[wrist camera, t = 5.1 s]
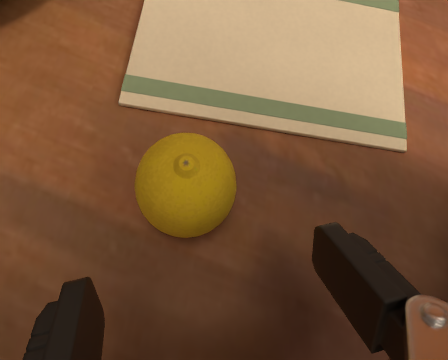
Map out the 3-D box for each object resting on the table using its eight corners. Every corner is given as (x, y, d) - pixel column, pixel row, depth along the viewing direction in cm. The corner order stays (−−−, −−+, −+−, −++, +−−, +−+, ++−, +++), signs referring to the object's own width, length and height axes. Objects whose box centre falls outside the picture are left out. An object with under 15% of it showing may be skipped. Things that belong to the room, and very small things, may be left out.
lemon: (172, 151, 22) (165, 86, 15) (240, 188, 22) (269, 143, 14) (128, 218, 20) (94, 185, 13) (201, 259, 20) (211, 251, 13)
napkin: (119, 105, 23) (117, 102, 22) (159, -53, 28) (159, -58, 27) (403, 152, 24) (407, 150, 24) (394, -5, 29) (398, -9, 29)
